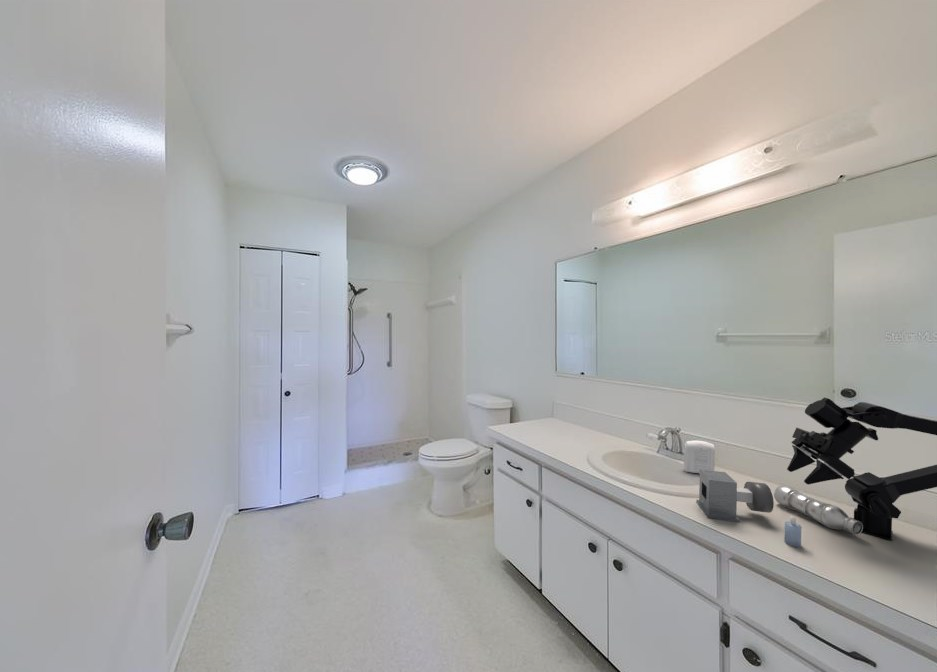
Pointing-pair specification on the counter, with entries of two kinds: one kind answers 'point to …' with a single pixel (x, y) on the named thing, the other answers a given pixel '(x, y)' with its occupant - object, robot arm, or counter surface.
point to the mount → (718, 495)
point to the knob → (756, 496)
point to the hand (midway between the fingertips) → (796, 476)
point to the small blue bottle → (792, 533)
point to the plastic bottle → (817, 510)
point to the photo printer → (698, 456)
